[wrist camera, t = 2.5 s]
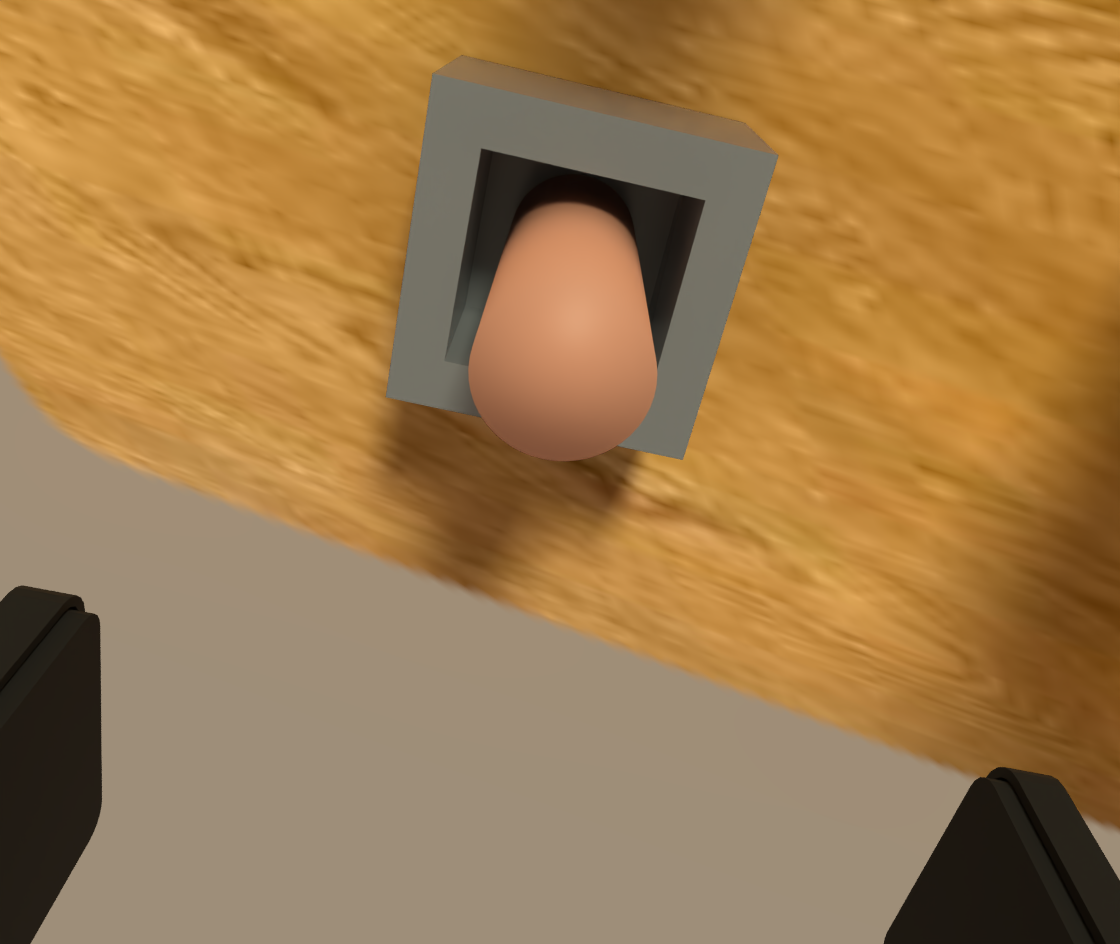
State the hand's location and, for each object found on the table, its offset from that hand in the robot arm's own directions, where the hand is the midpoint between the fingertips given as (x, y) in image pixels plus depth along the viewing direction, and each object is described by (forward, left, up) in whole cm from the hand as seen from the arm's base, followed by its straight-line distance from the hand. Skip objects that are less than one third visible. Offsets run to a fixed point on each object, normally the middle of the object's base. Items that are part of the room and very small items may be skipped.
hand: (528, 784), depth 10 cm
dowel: (0, 0, -23) cm, 23 cm away
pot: (0, 0, -24) cm, 24 cm away
